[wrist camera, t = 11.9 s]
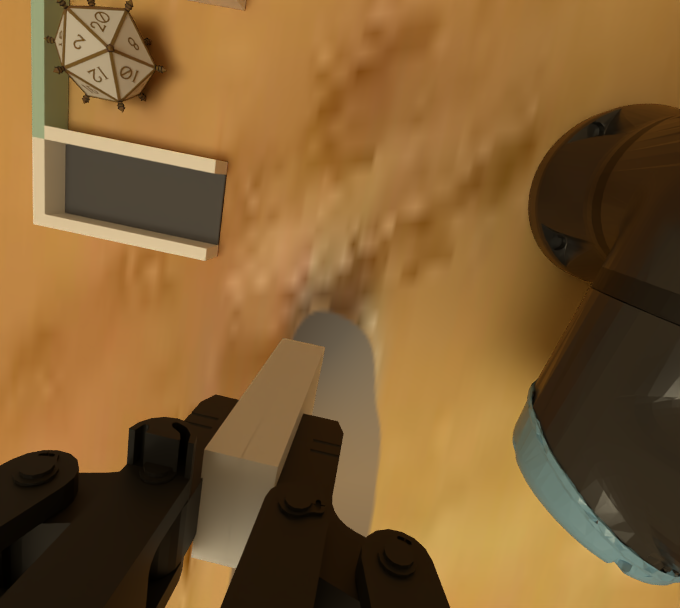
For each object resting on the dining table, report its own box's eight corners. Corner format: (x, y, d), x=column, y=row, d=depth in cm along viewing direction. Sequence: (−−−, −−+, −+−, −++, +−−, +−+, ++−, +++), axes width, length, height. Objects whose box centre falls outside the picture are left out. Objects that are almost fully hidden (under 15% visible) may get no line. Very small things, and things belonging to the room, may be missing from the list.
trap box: (259, -119, 35) (247, -147, 32) (217, 256, 44) (205, 260, 41) (57, -152, 36) (29, -182, 33) (56, 221, 44) (33, 223, 42)
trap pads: (257, -101, 35) (256, -104, 35) (218, 244, 43) (217, 245, 43) (71, -132, 36) (68, -135, 36) (66, 212, 44) (64, 212, 44)
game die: (140, 61, 43) (55, -47, 34) (202, 71, 40) (126, -46, 31) (91, 130, 41) (-13, 34, 32) (152, 146, 38) (55, 44, 29)
